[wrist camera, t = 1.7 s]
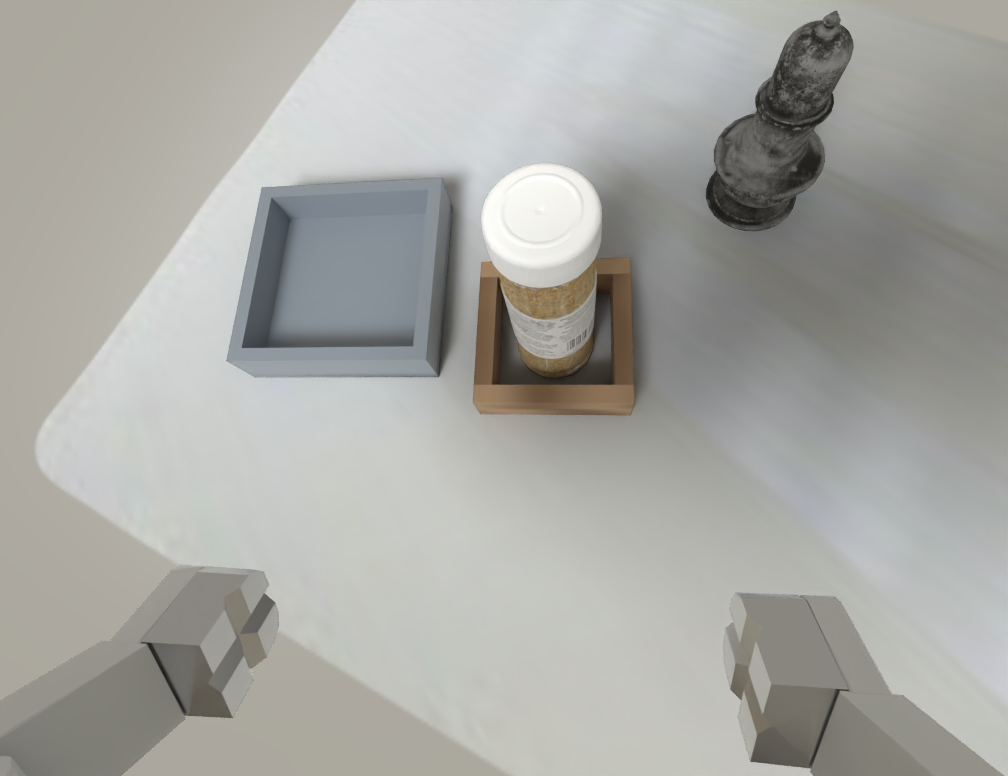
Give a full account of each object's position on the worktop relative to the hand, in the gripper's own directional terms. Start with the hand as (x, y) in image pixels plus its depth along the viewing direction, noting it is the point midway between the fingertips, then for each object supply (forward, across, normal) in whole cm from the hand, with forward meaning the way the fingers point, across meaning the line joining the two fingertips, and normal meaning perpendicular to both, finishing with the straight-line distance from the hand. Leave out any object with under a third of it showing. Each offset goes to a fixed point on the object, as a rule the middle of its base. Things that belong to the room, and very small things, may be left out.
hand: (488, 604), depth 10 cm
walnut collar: (+24, 0, +5) cm, 24 cm away
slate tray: (+27, +12, +2) cm, 30 cm away
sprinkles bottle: (+24, 0, +5) cm, 24 cm away
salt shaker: (+31, -12, -2) cm, 33 cm away
